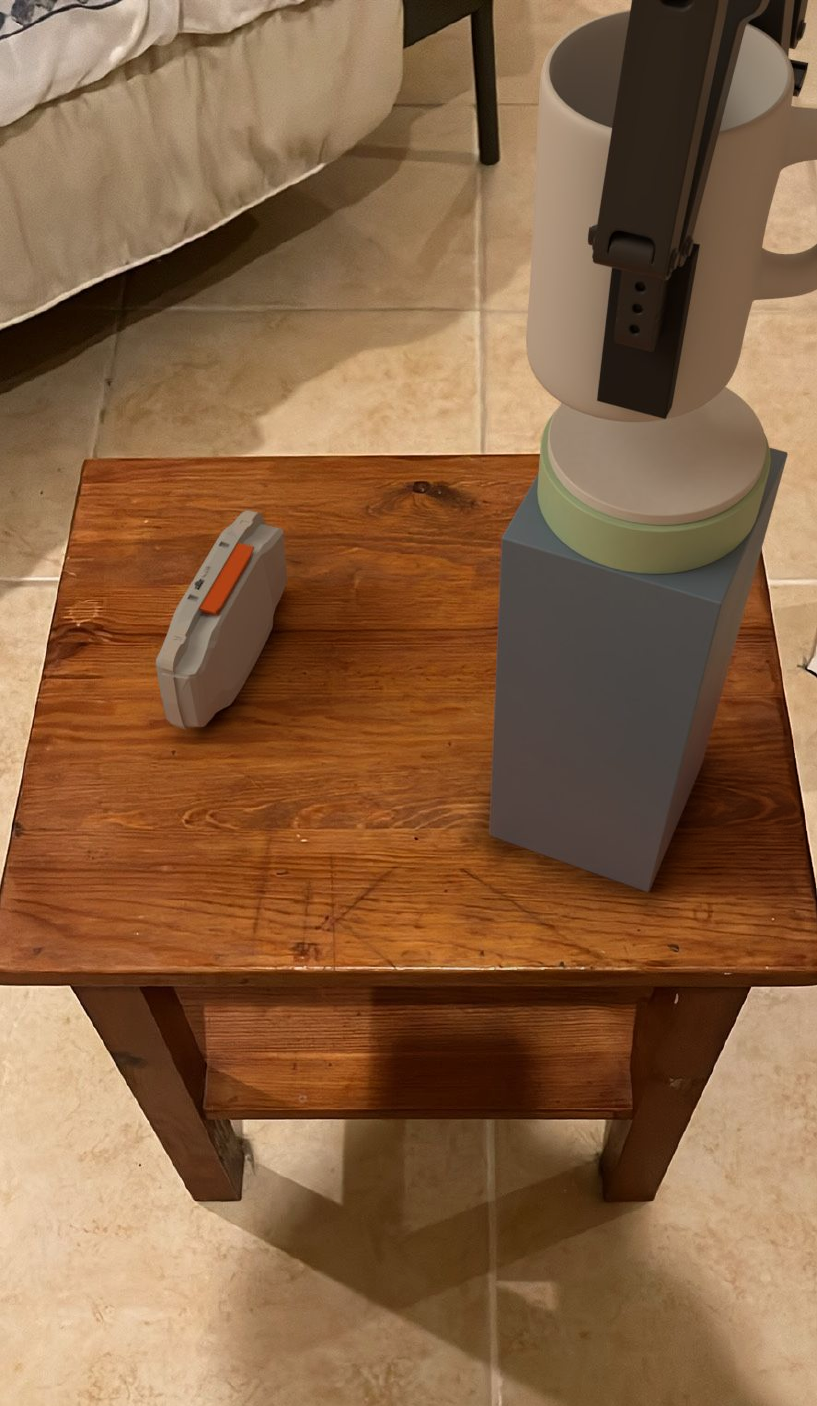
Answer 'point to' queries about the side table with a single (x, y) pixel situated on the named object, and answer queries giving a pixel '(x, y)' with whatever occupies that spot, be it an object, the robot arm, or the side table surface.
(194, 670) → the grey case
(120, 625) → the side table surface
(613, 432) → the round tin
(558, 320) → the mug
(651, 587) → the stand
